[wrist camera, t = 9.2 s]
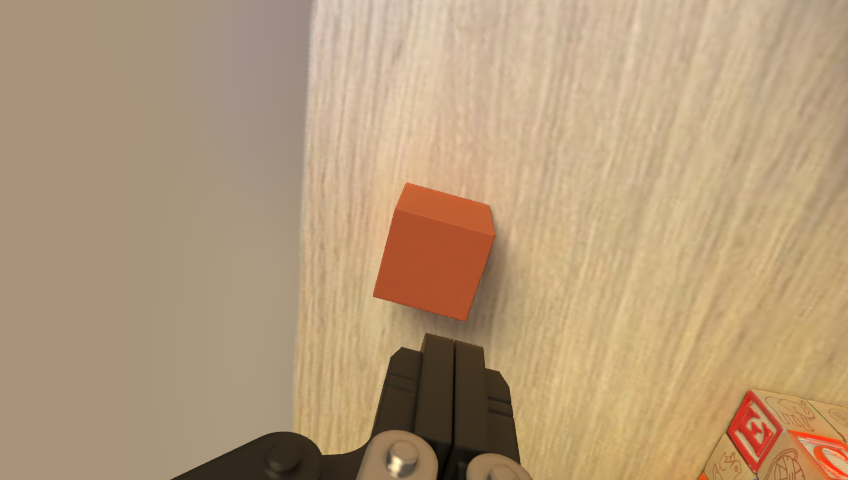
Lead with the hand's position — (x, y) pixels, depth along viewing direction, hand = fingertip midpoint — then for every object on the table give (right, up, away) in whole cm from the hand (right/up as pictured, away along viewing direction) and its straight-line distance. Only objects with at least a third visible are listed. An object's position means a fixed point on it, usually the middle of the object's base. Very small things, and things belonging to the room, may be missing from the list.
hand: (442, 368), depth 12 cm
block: (0, +4, +12) cm, 12 cm away
